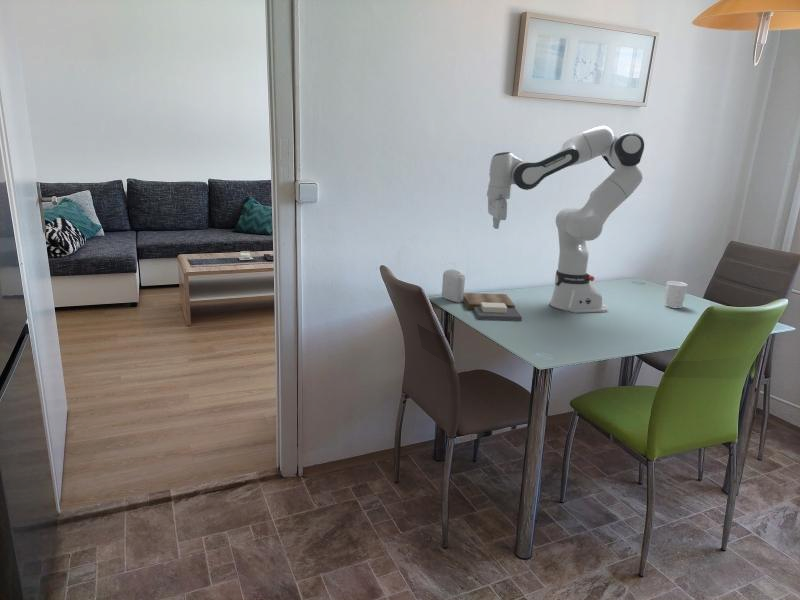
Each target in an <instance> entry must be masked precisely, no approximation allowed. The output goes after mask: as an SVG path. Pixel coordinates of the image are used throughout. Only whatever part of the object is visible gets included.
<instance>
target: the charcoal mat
mask: <svg viewBox="0 0 800 600" xmlns="http://www.w3.org/2000/svg"><path fill="white" fill-rule="evenodd" d="M473 312H474V314H475V313H476V314H475V316H476V315H477V316H476V318H477V317H478V318H477V320H481V319H492V320H491V321H519V322H521V321H522V318H523V317H522V315H521V313H519V312H518V310H517V309H516V307H515V308H507V313H499V312H483V311H482V309H481V307H474V310H473Z"/></svg>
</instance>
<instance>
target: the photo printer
mask: <svg viewBox="0 0 800 600" xmlns="http://www.w3.org/2000/svg"><path fill="white" fill-rule="evenodd" d="M465 281H466V279H465V275H464V274H463V273H461V272H460V271H458V270H456V269H446V270H445V271H444V272H443V273H442V285H441V286H442V287H441V297H442V299H446V300H449V301H452V302H455V303H459V304H460V303H463V302H464V300H463V298H464V293H465V284H466V283H465Z"/></svg>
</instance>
